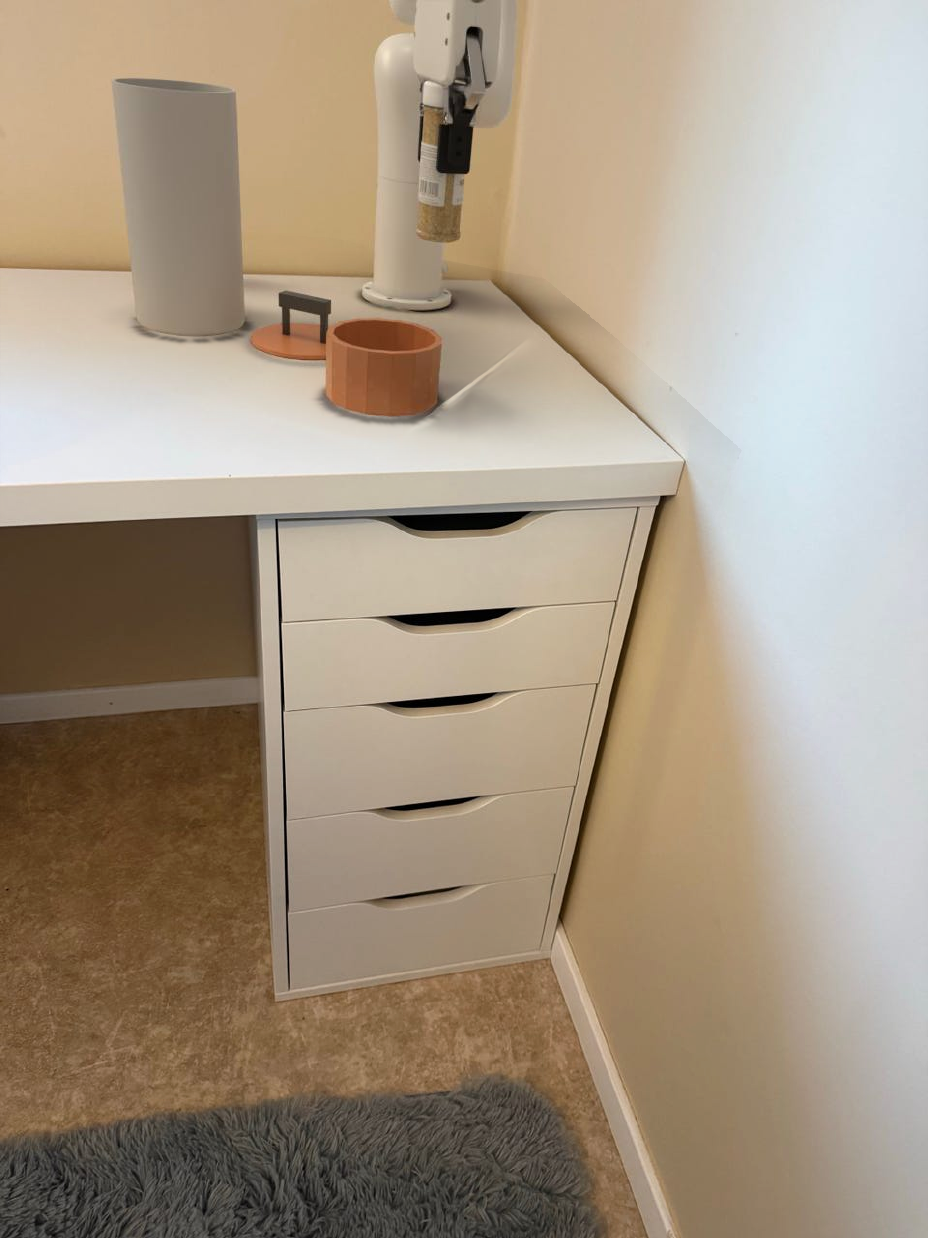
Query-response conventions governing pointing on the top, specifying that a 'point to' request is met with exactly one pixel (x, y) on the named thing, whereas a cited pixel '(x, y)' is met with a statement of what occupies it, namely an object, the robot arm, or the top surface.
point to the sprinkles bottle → (437, 177)
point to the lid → (296, 329)
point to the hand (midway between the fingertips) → (442, 165)
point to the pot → (382, 366)
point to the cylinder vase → (181, 203)
